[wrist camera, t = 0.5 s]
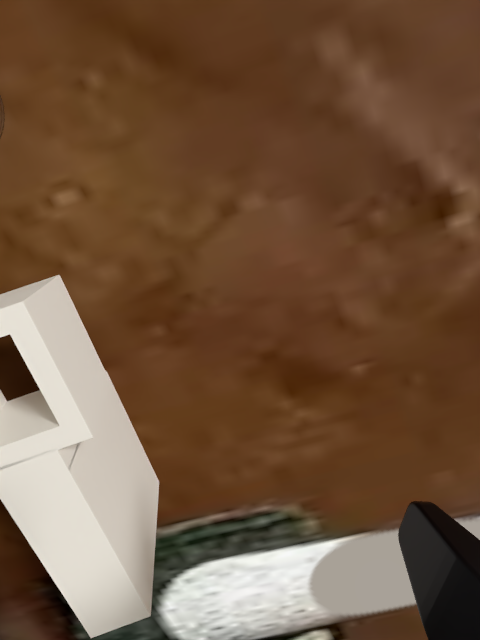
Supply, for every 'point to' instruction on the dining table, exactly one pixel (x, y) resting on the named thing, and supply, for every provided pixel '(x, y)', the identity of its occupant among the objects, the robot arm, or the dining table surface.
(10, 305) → the square loop paddle
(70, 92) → the dining table surface
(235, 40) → the dining table surface
